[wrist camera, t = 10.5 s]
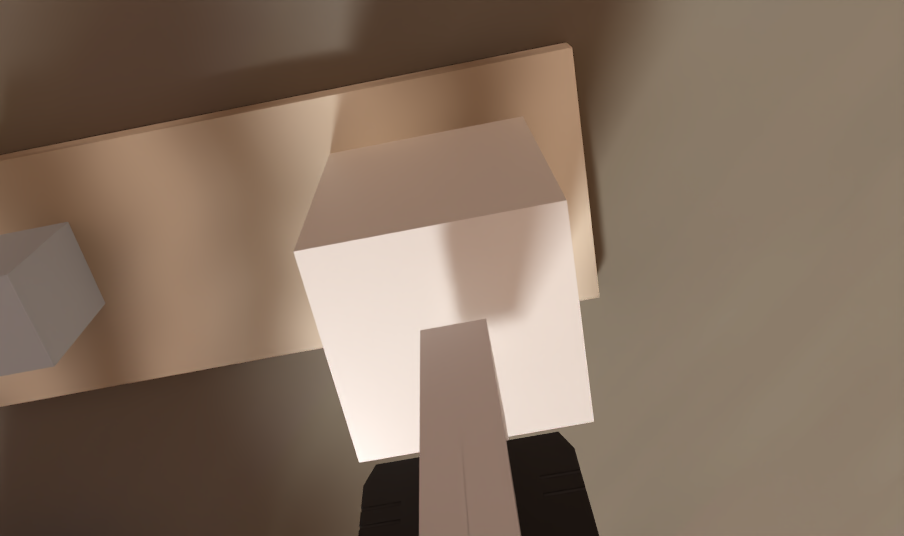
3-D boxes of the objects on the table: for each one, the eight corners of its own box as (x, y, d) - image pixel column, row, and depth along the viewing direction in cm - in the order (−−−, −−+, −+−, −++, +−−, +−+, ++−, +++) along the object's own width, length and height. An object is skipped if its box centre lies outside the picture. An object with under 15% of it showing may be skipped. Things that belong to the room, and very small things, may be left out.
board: (-12, 395, 28) (-27, 411, 27) (-136, 182, 24) (-158, 192, 24) (593, 284, 27) (599, 296, 26) (566, 42, 23) (572, 47, 23)
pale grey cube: (19, 319, 26) (-45, 384, 22) (-23, 239, 24) (-99, 294, 21) (105, 303, 26) (54, 366, 22) (68, 221, 24) (7, 274, 21)
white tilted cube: (374, 319, 26) (359, 462, 20) (329, 153, 24) (293, 251, 17) (547, 288, 26) (593, 421, 19) (522, 116, 23) (566, 200, 16)
